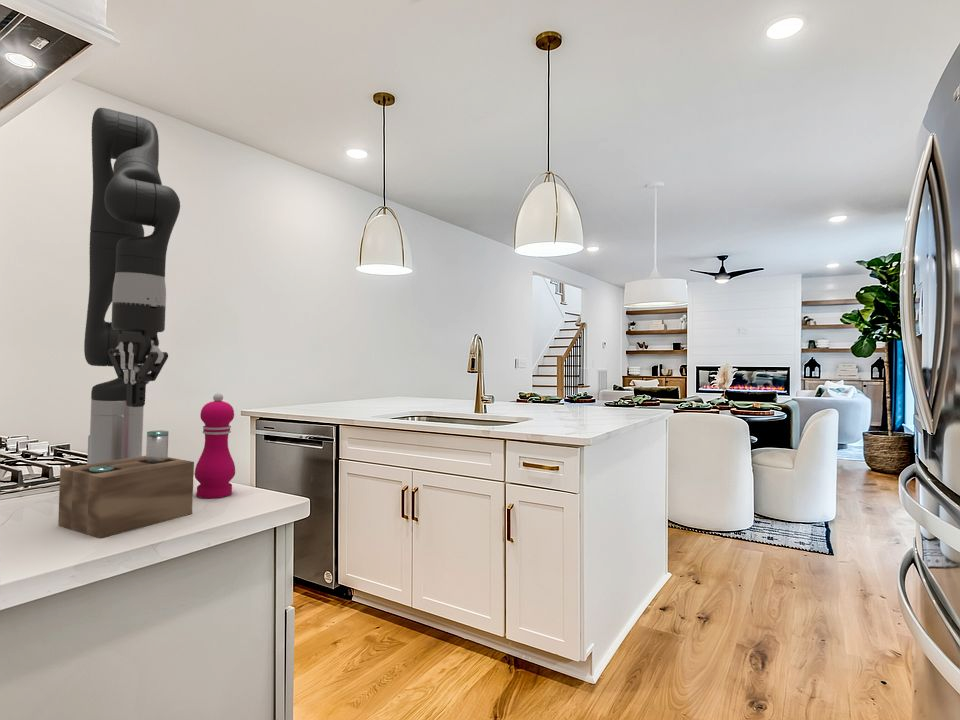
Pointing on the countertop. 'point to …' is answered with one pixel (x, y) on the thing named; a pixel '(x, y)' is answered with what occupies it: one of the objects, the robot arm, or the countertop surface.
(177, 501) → the walnut block
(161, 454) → the rear peg
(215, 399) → the pepper mill
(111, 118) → the robot arm
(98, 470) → the front peg
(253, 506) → the countertop surface
